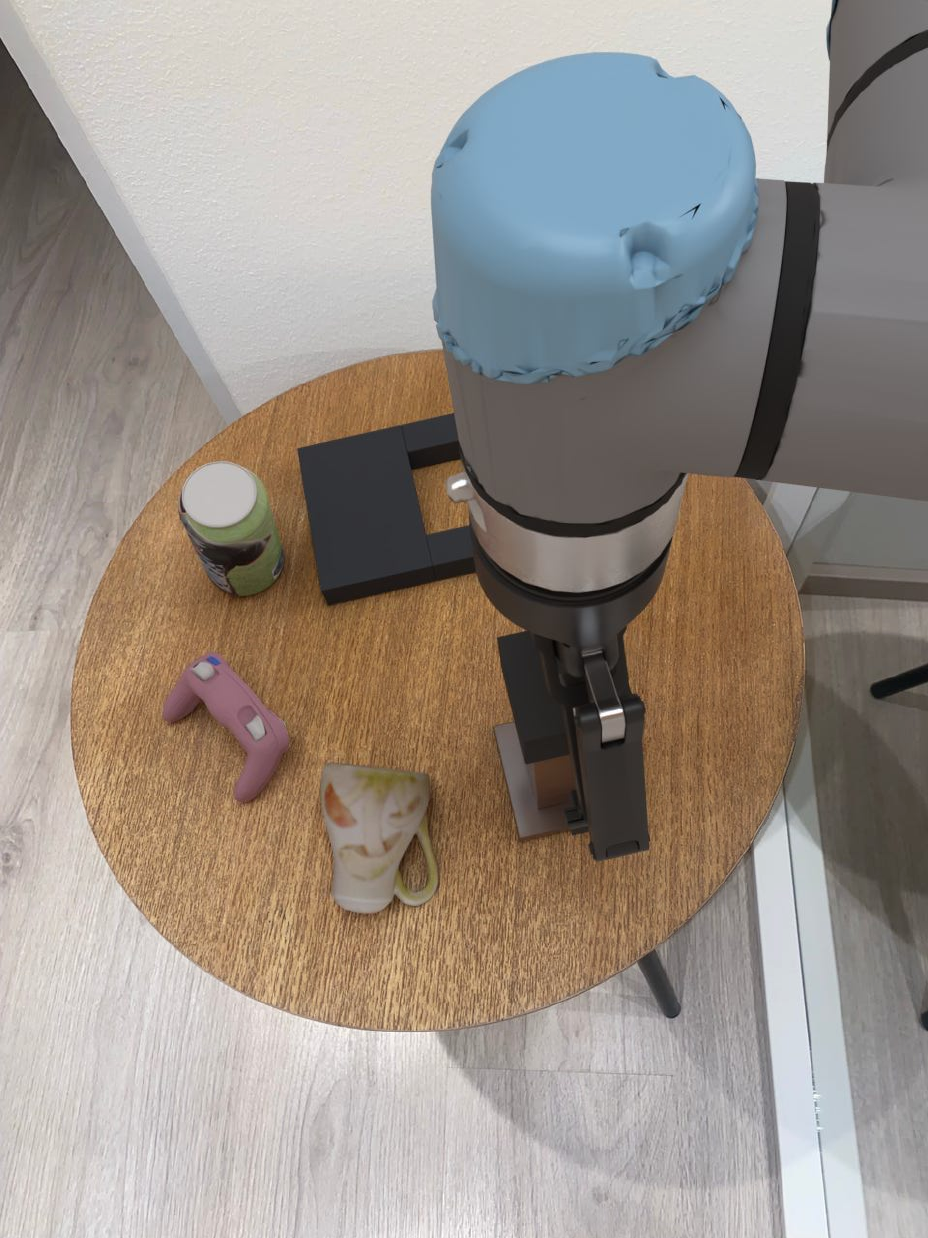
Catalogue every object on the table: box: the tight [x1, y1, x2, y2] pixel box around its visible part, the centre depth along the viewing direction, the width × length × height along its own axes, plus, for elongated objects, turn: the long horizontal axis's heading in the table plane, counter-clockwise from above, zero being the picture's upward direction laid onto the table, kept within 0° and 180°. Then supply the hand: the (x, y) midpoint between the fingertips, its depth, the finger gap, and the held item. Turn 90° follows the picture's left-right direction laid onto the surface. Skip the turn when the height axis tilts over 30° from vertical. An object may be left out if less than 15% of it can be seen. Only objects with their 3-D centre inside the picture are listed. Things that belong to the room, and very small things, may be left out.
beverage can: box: [177, 460, 285, 596], centre depth 70 cm, size 6×7×12 cm
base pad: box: [296, 412, 476, 606], centre depth 75 cm, size 16×13×2 cm
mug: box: [319, 762, 440, 914], centre depth 63 cm, size 8×10×10 cm
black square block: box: [496, 630, 633, 764], centre depth 52 cm, size 6×6×4 cm
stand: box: [492, 721, 576, 842], centre depth 60 cm, size 8×8×14 cm
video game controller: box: [161, 650, 291, 803], centre depth 67 cm, size 10×5×7 cm, turn 44°
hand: (562, 705), depth 54 cm, fingers open, 13 cm apart
